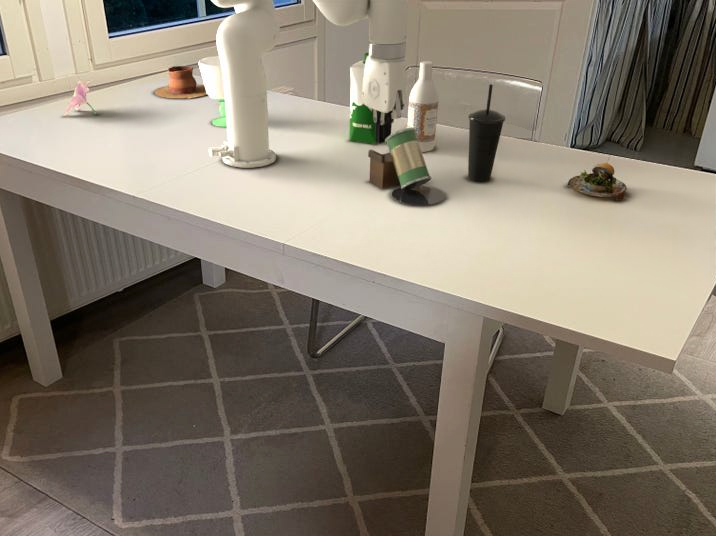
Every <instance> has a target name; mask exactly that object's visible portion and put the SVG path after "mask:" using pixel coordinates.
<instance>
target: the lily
mask: <svg viewBox="0 0 716 536" xmlns="http://www.w3.org/2000/svg"><path fill="white" fill-rule="evenodd" d="M92 80H93V78H90V79H89V80H88V81H87V82H86V83H85V84H83V82H82V80H81V79H79V81H78V82H77V84H76V86H75V88H74V93H73V94H72V98H70V100H69V101H68V106H67V108H66V109H65V112H64V115H63V117H66V115H67V114H68V113H69V112H70V111H71V110H72V109H73V108H75V110H76V111H77V112H78V111H79V110H80V109H79V108H80V106H81V105H84V104H87V105H88V106H89V107H90V108H91V110H92V111H93V112H94V113H95V115H96V116H97V115H98V113H97V111H95V109H94V108H93V106H92V105H91V104H90V103H89V102H88V100H87V93H89V91H90V88H88V87H89V85H90V83H91V81H92Z"/></svg>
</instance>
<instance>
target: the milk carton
mask: <svg viewBox="0 0 716 536" xmlns="http://www.w3.org/2000/svg"><path fill="white" fill-rule="evenodd" d="M367 56H368V52H365V53H364V56H363V57H364V59H363V60H359V61H357V62H355V63H353V64H352V65H351V66H350V67H349V71H350V91H349V93H350V94H349V96H350V97H349V101H350V103H349V142H354V143H355V142H356V143H362V144H363V143H364V144H372V145H377V143H378V142H376V141H375V123H376V122H374V114H373V112H372V111H371V110H370V109H369V108H368V106H366V105H364V103H363V102H362V87H363V76H364V68H365V63H366V58H367Z"/></svg>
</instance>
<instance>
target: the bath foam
mask: <svg viewBox="0 0 716 536" xmlns="http://www.w3.org/2000/svg"><path fill="white" fill-rule="evenodd" d="M433 67H434V64H433V62H432V61H428V60H423V61H421V62H420V63H419V72H418V80H417V81H416V82H415V83H414V85H413V87H412V89H411V90H410V93H409V98H408V108H407V109H408V111H407V124H406V125H407V126H406V128H415V130H416V132H415V133H416V136H417V139H418V142H419V145H420V148H421V151H422V153H426V152H431V151H432V150H434V149H435V142H436V131H437V122H438V121H437V120H438V109H439V108H438V107H439V93H438V89H437V87H436V85H435V83H434V81H433V78H432V77H433Z"/></svg>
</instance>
